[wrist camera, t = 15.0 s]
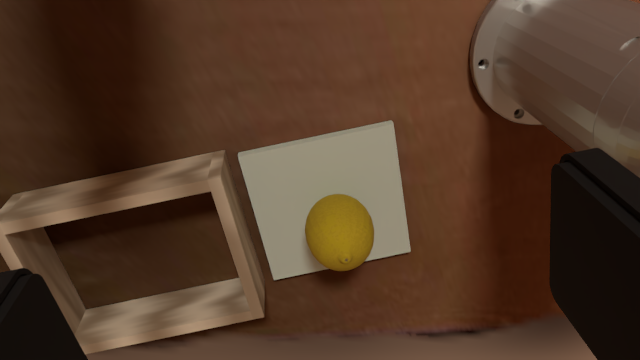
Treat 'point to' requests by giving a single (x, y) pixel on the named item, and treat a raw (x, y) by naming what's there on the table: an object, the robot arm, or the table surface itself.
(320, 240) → the lemon
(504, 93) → the robot arm
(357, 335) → the table surface
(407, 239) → the board
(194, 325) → the brown wooden tray
